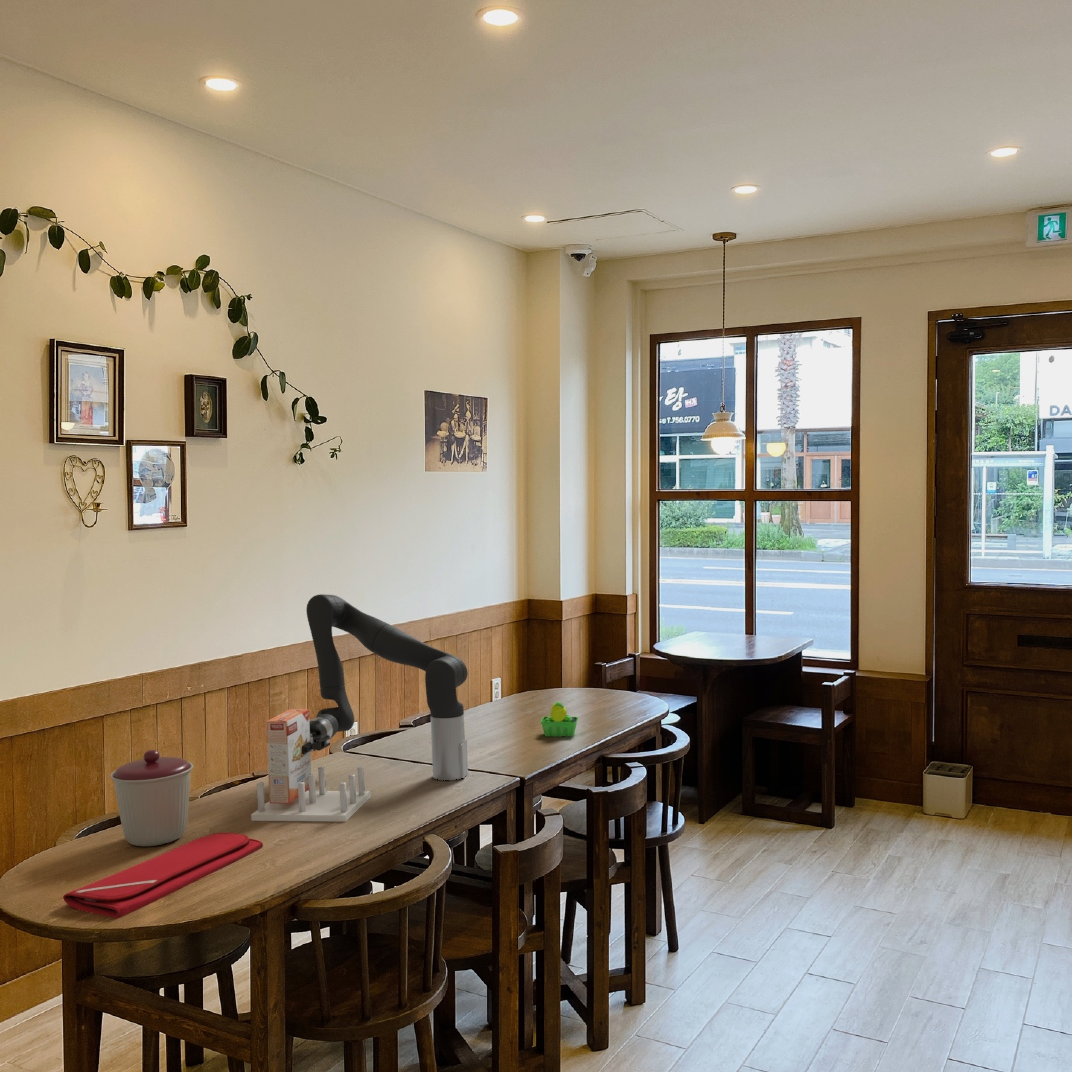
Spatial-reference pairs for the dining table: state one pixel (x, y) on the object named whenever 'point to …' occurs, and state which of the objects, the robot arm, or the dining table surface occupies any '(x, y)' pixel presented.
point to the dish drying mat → (161, 875)
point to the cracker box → (288, 755)
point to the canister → (153, 798)
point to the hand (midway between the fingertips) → (291, 750)
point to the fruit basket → (559, 722)
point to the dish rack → (315, 801)
